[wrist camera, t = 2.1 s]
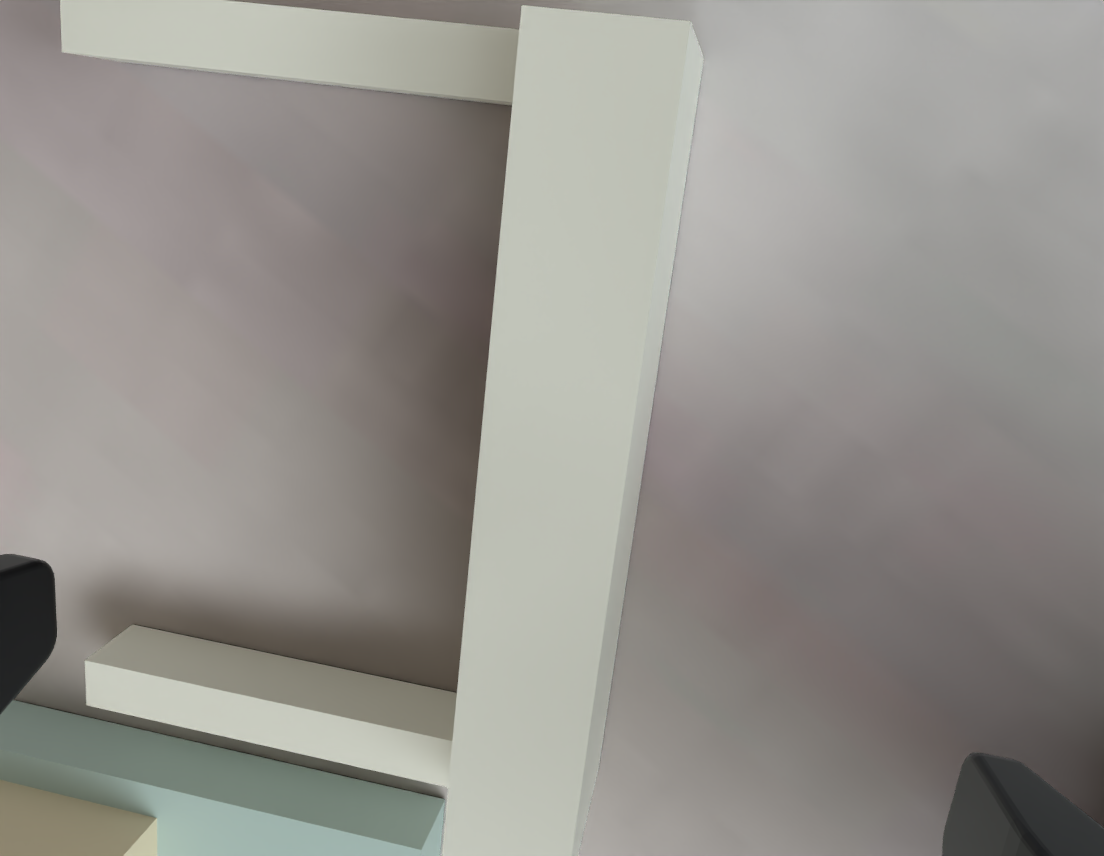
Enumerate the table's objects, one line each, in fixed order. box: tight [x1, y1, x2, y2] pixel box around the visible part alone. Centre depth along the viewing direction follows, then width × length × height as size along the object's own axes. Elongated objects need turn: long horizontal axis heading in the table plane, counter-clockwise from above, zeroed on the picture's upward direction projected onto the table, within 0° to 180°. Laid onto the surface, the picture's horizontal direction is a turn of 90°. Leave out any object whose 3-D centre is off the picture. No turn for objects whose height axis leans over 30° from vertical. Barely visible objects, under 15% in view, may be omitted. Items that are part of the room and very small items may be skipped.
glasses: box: [60, 0, 704, 856], centre depth 15 cm, size 10×13×4 cm
